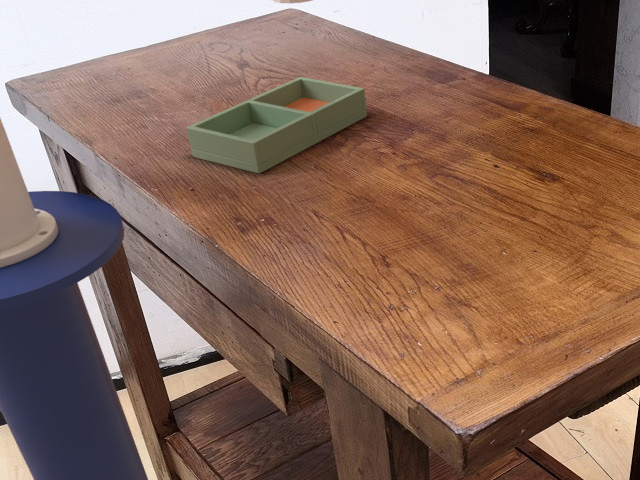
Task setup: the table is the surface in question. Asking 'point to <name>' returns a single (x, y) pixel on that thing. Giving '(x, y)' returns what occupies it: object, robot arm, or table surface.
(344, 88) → the tray
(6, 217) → the robot arm
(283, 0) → the white tapered cup
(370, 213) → the table surface
